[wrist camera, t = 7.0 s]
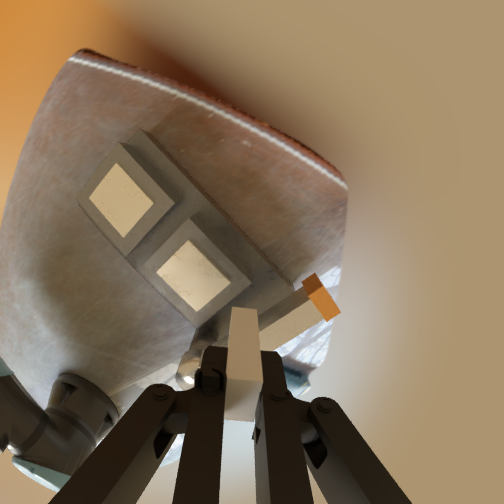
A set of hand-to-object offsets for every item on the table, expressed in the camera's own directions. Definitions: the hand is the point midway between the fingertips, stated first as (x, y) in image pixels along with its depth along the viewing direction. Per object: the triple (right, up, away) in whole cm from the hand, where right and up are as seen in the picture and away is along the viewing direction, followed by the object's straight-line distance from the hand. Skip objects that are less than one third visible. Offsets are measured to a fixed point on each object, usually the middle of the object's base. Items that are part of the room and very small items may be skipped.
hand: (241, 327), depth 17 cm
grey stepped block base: (-7, +6, +16) cm, 19 cm away
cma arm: (0, -4, +10) cm, 11 cm away
